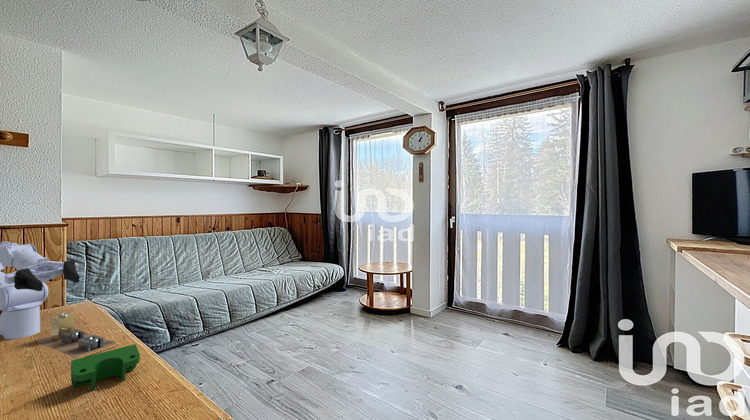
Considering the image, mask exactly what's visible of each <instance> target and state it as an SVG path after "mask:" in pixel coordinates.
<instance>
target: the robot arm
mask: <svg viewBox="0 0 750 420" xmlns="http://www.w3.org/2000/svg"><path fill="white" fill-rule="evenodd" d="M6 267H11V268H12V267H13V268H15V269H16V271H14V272H10V273H4V272H3V271H2V270H5V269H6ZM78 271H79V263H78V262H75V260H71V259H70V260H64V261H63V262H62V261H52V260H50V259H49V258H48V257H44V256H42V255H41V254H39V253H38V251H37V248H36V246H35V245H34V244H33V243H28V244H18V243H17V242H12V243H11V241H1V242H0V311H2V312H1V313H0V336H2V337H3V339H4V340H16V339H18V340H19V339H22V338H23V339H24V338H26V337H30V336H33V335H36V334H38V333H40V332H41V311H40V310H41V309H40V308H41V305H43V302H45V301H46V300H47V298H48V295H49V287H48V285H47V283H46V282H47V281H48V282H49V281H50V280H52V279H54V278H56V277H58V276H61V275H63V280H65V281H66V280H67V281H70V282H72V283H74V284H76V283H80V274H79V273H78Z"/></svg>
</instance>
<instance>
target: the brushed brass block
mask: <svg viewBox="0 0 750 420" xmlns="http://www.w3.org/2000/svg"><path fill="white" fill-rule="evenodd" d="M75 327H76V325H75V315H73V314H71V313H64V312H62V313H61V312H60V313H59V314H58V315H56V316H52V317H51V336H52V339H55V340H57V341H61V340H62V339H61V333H66V332H68V331H73V330H75V329H76V328H75Z"/></svg>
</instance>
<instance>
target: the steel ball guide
mask: <svg viewBox="0 0 750 420" xmlns="http://www.w3.org/2000/svg"><path fill="white" fill-rule="evenodd" d="M84 332H85V331H84V330H82V329H78V328H75V330H73V331H68V332H66V333H61V339H62V342H63V343H66V344H72V343H75V342H78V348H79V349H81V350H84V351H87V352H89V351H91V350H95V349H98V348H99V347H100V348H101V347H104V344H103V339H104V337H103V336H100V335H96V334H91V336H88V337H85V338H84ZM104 348H105V347H104ZM101 349H102V348H101ZM98 350H99V349H98ZM95 351H96V350H95ZM89 353H90V352H89Z"/></svg>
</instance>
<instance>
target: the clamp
mask: <svg viewBox="0 0 750 420" xmlns="http://www.w3.org/2000/svg"><path fill="white" fill-rule="evenodd" d="M90 355H91V356H89V355H86V356H87V357H86V356H84V357H79V358H77V359H73V360H70V381H71V385H72V387H74V388H80V387H84V386H86V385H89V386H90V389H91V391H95V390H96V386H97V385H96V384H97V383H98V382H99V381H102V380H106V379H108V378H112V377H115V376H116V377H119V378H120V379H121V381H122V382H124V381H126V373H128V372H131V371H132V372H133V371H134V370H135V369H136V368H137V365H138V364H139V363H140V362H141V354H140V351H139V349H138V346H137V344H136V343H134V344H130V345H126V346H122V347H118V348H115V349H114V348H113V349H109V350H105V351H102V352H100V353H97V354H95V353H94V355H92V354H90Z"/></svg>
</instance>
